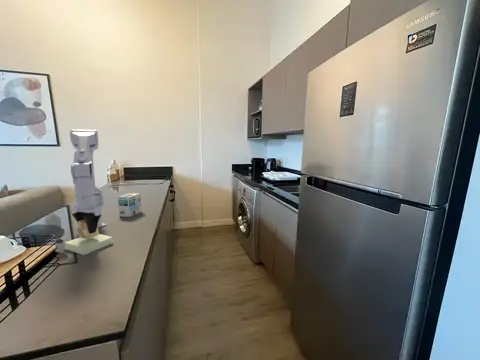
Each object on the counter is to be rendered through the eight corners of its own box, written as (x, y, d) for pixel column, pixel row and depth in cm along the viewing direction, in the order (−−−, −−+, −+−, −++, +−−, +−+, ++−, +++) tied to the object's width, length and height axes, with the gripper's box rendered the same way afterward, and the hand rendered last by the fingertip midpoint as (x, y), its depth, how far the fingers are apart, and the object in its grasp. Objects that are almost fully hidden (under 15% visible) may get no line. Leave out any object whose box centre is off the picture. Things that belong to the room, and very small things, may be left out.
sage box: (65, 250, 88) (64, 242, 87) (95, 239, 98) (94, 232, 97) (83, 256, 83) (83, 248, 83) (113, 244, 93) (112, 237, 92)
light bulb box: (130, 217, 126) (128, 197, 124) (118, 216, 127) (117, 196, 126) (142, 211, 136) (141, 193, 135) (131, 211, 138) (130, 192, 136)
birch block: (79, 236, 89) (77, 221, 88) (91, 232, 93) (90, 217, 92) (86, 238, 87) (85, 222, 86) (98, 234, 91) (97, 219, 90)
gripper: (61, 195, 87) (65, 231, 89) (86, 200, 81) (89, 238, 83) (81, 192, 93) (84, 226, 95) (105, 196, 87) (108, 232, 89)
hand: (88, 231), depth 89 cm, fingers closed on birch block, 4 cm apart
